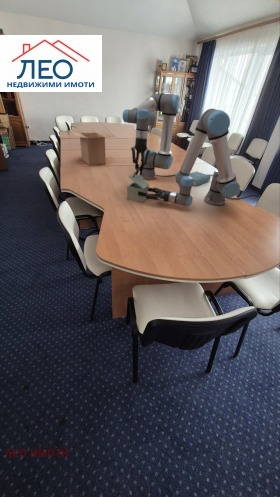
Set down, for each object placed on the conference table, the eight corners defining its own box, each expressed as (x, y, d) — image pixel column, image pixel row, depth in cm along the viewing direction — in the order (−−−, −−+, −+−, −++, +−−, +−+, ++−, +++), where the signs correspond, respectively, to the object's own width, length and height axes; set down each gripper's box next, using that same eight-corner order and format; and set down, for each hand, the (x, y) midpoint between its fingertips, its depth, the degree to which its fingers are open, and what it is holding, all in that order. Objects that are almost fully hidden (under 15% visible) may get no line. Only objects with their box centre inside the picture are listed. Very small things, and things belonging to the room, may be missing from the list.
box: (116, 165, 229) (116, 136, 213) (83, 168, 214) (80, 137, 198) (102, 154, 259) (101, 128, 243) (71, 156, 244) (68, 129, 228)
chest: (126, 198, 164) (127, 186, 159) (132, 194, 172) (132, 182, 166) (142, 202, 161) (143, 189, 155) (147, 197, 168) (148, 185, 163)
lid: (128, 177, 154) (134, 167, 149) (134, 173, 162) (140, 163, 156) (143, 189, 155) (150, 180, 150) (148, 185, 163) (154, 176, 157)
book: (195, 176, 216) (196, 171, 213) (209, 181, 207) (210, 176, 204) (181, 181, 202) (182, 175, 199) (195, 186, 194) (197, 180, 191)
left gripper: (128, 136, 141) (126, 173, 155) (150, 140, 137) (147, 177, 151) (133, 135, 146) (131, 170, 160) (154, 138, 142) (150, 174, 156)
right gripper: (164, 208, 149) (134, 201, 156) (173, 196, 167) (146, 190, 173) (166, 197, 145) (135, 191, 151) (175, 186, 162) (146, 181, 168)
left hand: (139, 174), depth 156 cm, fingers closed on lid, 2 cm apart
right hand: (141, 190), depth 162 cm, fingers closed on chest, 10 cm apart
